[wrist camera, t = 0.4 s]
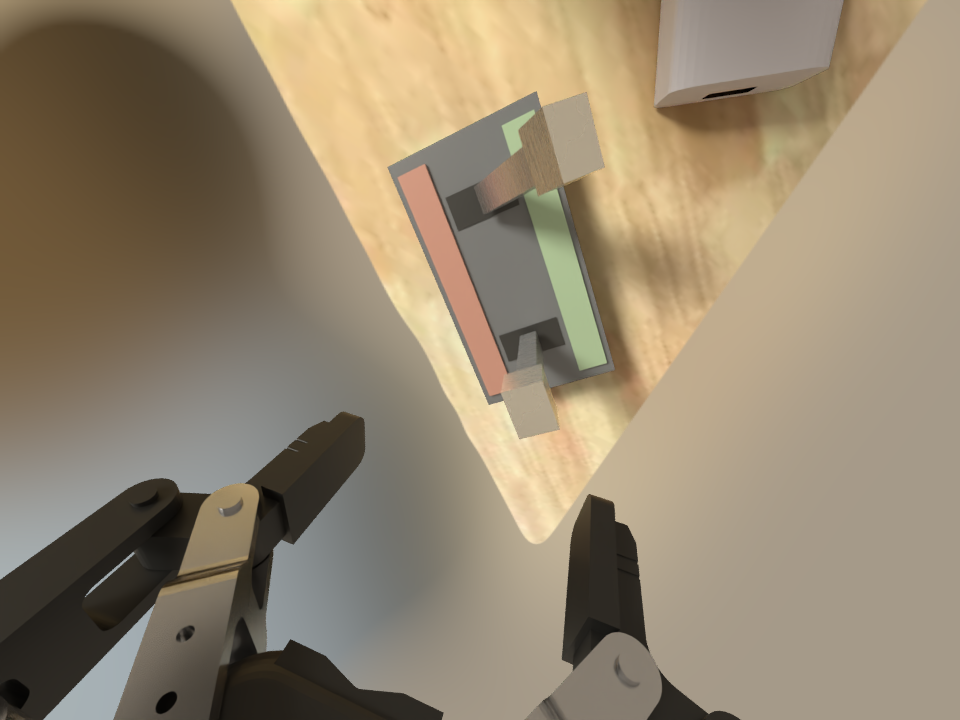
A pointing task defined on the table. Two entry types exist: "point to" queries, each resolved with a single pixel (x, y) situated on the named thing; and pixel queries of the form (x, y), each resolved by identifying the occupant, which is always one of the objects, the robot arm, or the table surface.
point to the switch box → (503, 256)
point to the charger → (741, 46)
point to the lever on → (546, 154)
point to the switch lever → (530, 391)
